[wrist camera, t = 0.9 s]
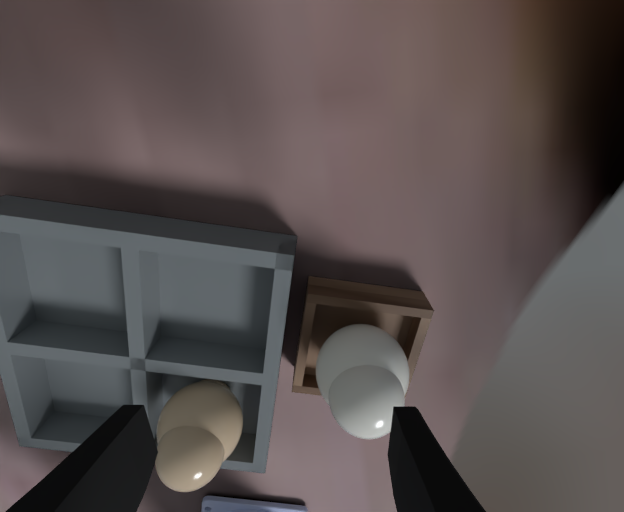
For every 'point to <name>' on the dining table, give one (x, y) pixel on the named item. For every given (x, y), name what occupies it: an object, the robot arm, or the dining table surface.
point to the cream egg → (362, 379)
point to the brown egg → (197, 434)
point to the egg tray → (136, 319)
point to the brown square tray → (357, 321)
